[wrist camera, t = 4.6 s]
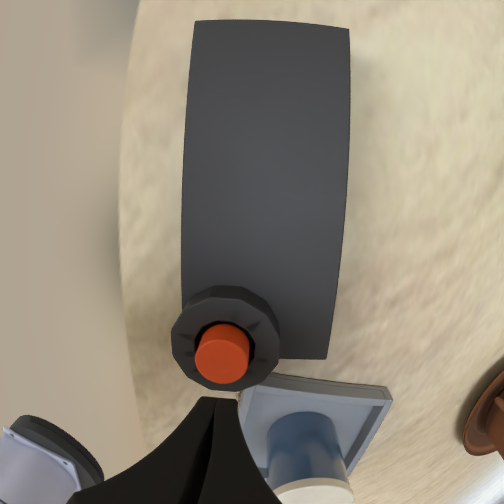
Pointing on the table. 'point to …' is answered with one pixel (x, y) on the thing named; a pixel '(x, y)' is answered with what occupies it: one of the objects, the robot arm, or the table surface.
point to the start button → (223, 354)
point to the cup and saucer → (487, 421)
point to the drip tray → (313, 400)
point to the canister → (306, 461)
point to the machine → (263, 190)
